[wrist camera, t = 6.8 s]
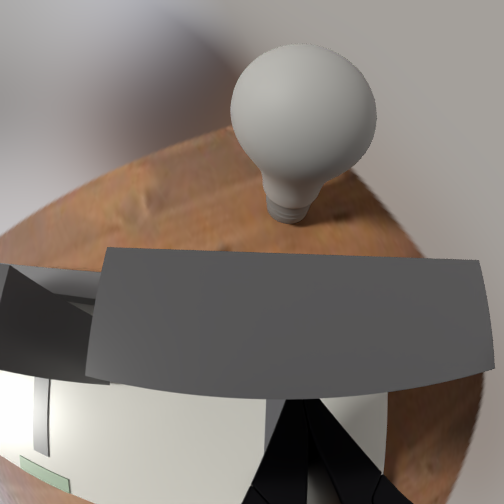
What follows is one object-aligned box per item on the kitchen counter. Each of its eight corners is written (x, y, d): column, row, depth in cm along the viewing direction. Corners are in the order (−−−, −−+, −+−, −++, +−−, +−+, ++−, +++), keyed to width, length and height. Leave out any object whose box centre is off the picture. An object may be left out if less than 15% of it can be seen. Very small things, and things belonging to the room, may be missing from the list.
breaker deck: (366, 510, 10) (387, 529, 7) (2, 446, 10) (-25, 447, 8) (371, 300, 16) (393, 283, 13) (18, 279, 16) (-7, 262, 13)
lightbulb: (349, 211, 18) (413, 66, 9) (295, 278, 16) (352, 120, 6) (277, 163, 20) (291, 16, 10) (216, 217, 18) (191, 52, 8)
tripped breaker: (377, 384, 12) (494, 368, 5) (175, 383, 12) (85, 375, 5) (375, 325, 13) (478, 260, 6) (180, 322, 13) (107, 247, 6)
